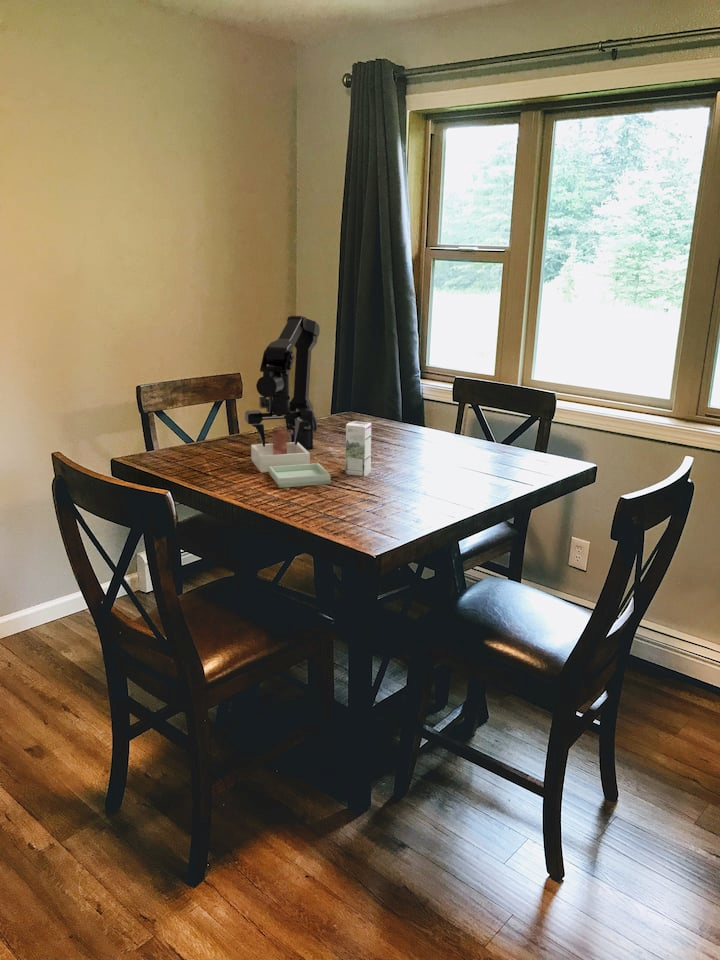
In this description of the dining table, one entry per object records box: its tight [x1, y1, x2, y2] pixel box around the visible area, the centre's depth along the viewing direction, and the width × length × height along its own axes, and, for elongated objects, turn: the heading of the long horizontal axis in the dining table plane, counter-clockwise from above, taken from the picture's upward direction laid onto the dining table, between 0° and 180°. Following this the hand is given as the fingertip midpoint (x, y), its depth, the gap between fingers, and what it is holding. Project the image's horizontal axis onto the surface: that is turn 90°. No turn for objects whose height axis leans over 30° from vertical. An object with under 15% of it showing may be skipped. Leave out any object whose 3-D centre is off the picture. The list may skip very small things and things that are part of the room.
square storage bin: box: [250, 441, 311, 473], centre depth 218 cm, size 14×14×5 cm
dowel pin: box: [272, 428, 288, 455], centre depth 217 cm, size 4×4×10 cm
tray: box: [268, 462, 332, 489], centre depth 205 cm, size 14×12×2 cm
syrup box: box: [345, 420, 372, 477], centre depth 210 cm, size 6×6×14 cm
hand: (279, 445), depth 217 cm, fingers open, 9 cm apart
